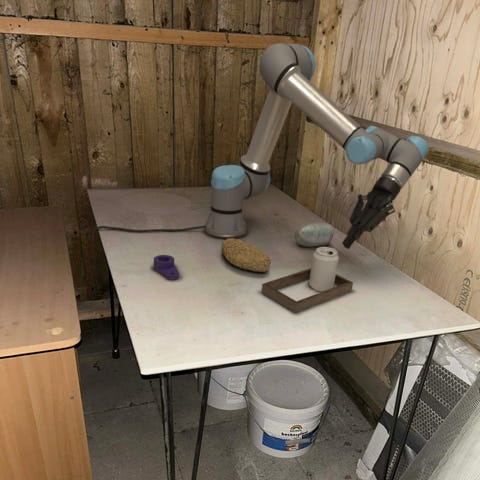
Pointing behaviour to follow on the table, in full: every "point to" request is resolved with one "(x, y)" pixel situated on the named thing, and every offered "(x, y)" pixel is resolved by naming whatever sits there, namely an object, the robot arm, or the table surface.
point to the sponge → (245, 255)
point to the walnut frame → (296, 306)
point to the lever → (166, 267)
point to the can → (323, 269)
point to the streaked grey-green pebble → (314, 234)
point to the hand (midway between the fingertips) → (345, 245)
